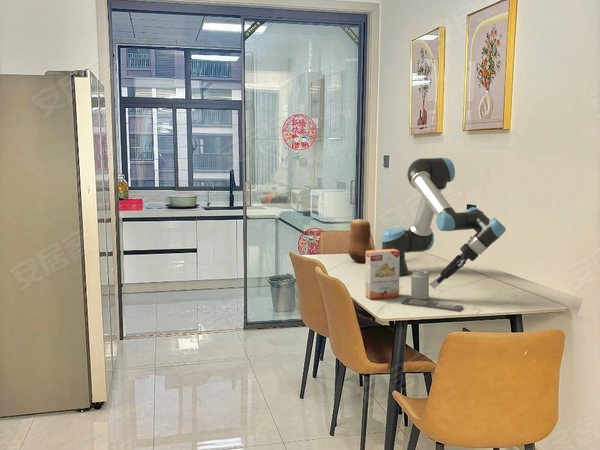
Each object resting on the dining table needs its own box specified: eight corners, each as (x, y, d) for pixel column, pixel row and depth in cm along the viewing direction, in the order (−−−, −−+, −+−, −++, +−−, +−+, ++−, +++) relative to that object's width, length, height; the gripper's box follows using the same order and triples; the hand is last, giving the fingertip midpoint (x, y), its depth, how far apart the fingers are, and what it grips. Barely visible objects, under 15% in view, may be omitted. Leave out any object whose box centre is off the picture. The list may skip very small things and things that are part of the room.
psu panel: (406, 300, 239) (407, 298, 239) (463, 307, 226) (463, 305, 226) (401, 303, 234) (401, 301, 234) (458, 311, 221) (458, 309, 221)
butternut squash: (372, 259, 327) (372, 217, 324) (373, 264, 314) (372, 220, 311) (348, 259, 329) (348, 217, 325) (348, 264, 316) (347, 220, 312)
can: (431, 298, 242) (432, 271, 240) (424, 302, 236) (424, 274, 234) (416, 295, 247) (416, 269, 245) (408, 299, 241) (408, 272, 239)
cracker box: (370, 300, 241) (370, 252, 238) (365, 296, 247) (364, 250, 244) (400, 297, 245) (400, 250, 242) (393, 293, 251) (394, 248, 248)
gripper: (465, 240, 240) (425, 277, 246) (467, 245, 228) (425, 284, 233) (477, 252, 240) (437, 289, 245) (481, 258, 227) (438, 296, 233)
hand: (431, 286), depth 239 cm, fingers closed
